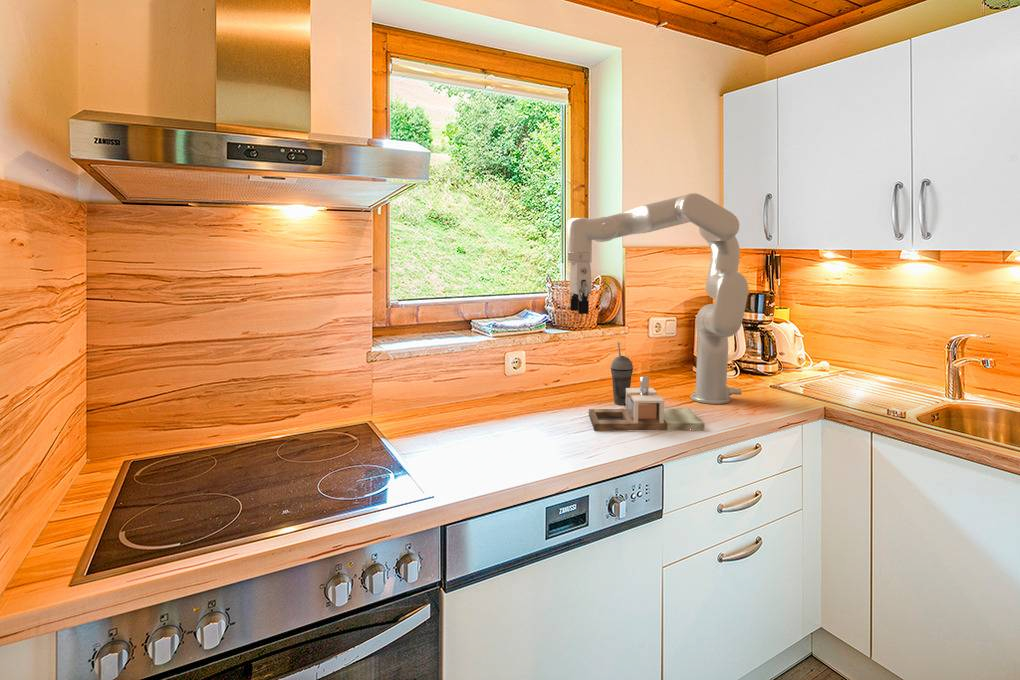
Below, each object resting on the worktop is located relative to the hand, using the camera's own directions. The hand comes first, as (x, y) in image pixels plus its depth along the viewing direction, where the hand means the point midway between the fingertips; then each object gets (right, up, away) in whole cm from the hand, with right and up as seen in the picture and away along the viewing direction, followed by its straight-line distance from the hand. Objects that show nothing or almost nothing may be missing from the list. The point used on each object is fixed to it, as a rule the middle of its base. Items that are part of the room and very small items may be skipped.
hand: (579, 312), depth 178 cm
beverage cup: (+14, -30, +3) cm, 33 cm away
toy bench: (+16, -31, -18) cm, 39 cm away
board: (+16, -33, -17) cm, 41 cm away
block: (+16, -31, -18) cm, 39 cm away
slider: (+16, -30, -18) cm, 39 cm away
